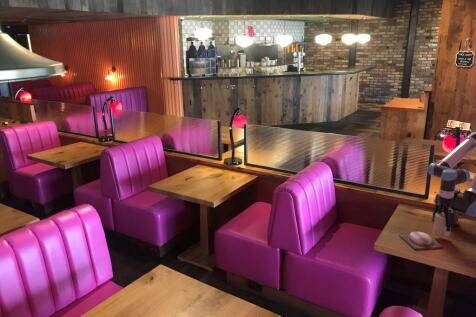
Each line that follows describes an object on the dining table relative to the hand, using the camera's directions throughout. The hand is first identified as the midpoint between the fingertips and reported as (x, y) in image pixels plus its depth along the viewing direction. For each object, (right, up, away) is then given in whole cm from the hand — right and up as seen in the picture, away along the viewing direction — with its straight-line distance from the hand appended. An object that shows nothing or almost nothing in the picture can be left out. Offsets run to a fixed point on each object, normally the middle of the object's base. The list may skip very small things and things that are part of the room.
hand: (441, 231), depth 233 cm
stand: (-13, -5, -2) cm, 15 cm away
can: (0, -1, 0) cm, 1 cm away
